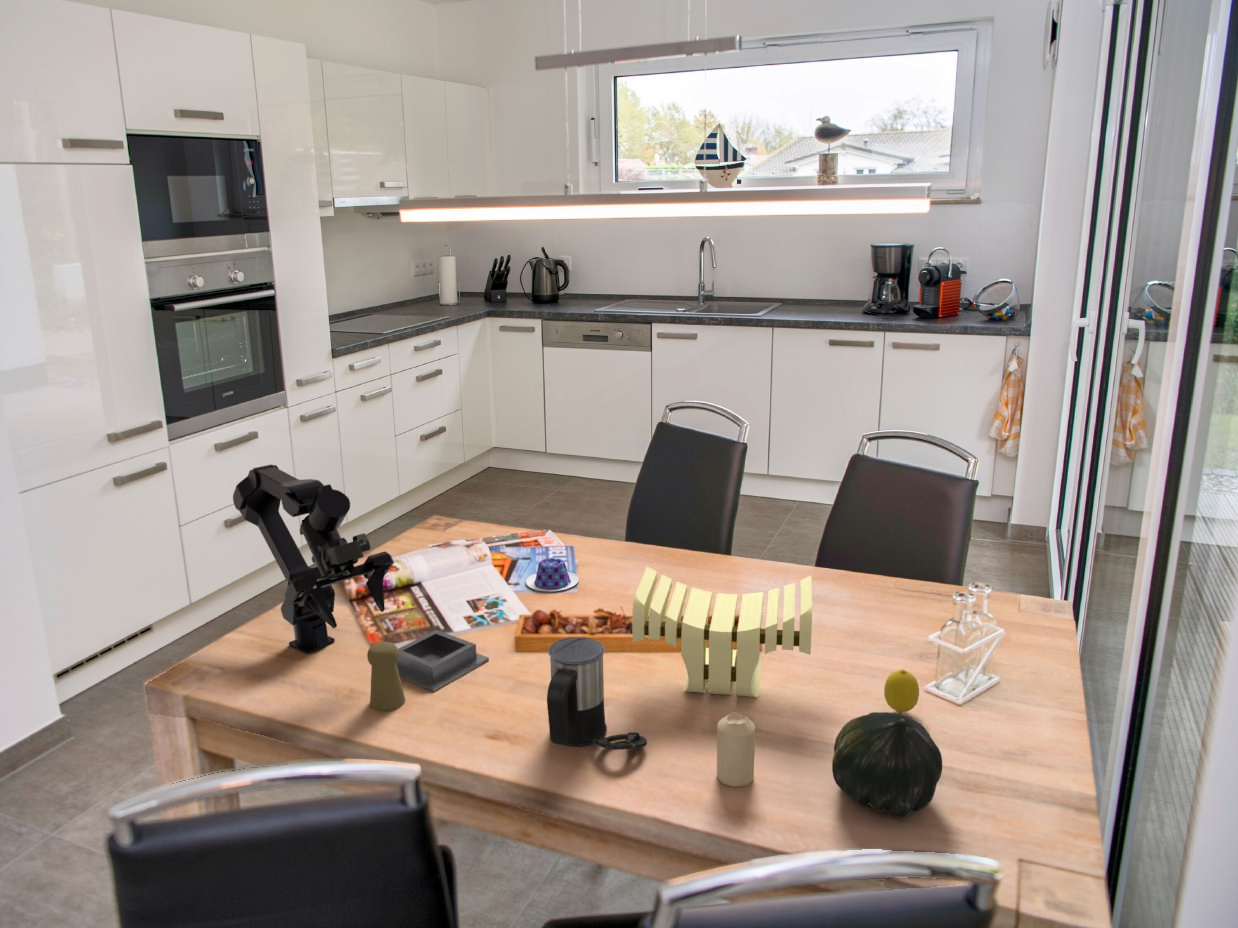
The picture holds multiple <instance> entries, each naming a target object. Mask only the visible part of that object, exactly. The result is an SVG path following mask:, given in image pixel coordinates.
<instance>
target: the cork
mask: <svg viewBox="0 0 1238 928" xmlns="http://www.w3.org/2000/svg"><path fill="white" fill-rule="evenodd" d="M398 649H399V648H398V646H397V645H395V644H394V643H393V642H390V641H380V642H377V643H375V644H372V645H371V646H370V647H369V649H368V651H367V653H366V654H367V655H366V656H367V661H368V664H370V665H371V675H370V676H371V678H370V695H369V699H370V700H369V707H370V708H371V710H373V711H375V712H380V713H382V712H383V713H386V712H387V713H388V712H392V711H396V710H397V709H400V708H401V707H402V706H404V705H405V703H406V697H405V692H404V689H403V684H402V680H401V678H400V676H399V672H398V668H397V664H396V661H397V659H398V656H399V655H398Z"/></svg>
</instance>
